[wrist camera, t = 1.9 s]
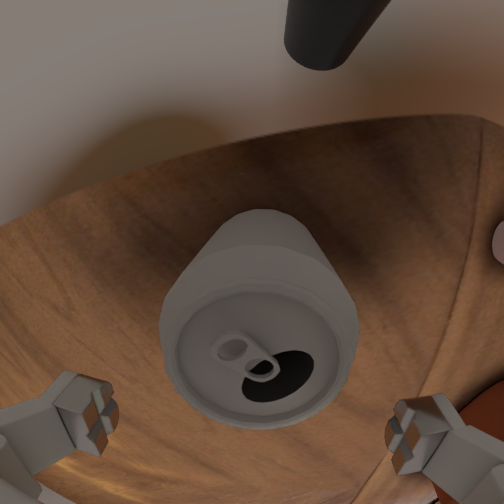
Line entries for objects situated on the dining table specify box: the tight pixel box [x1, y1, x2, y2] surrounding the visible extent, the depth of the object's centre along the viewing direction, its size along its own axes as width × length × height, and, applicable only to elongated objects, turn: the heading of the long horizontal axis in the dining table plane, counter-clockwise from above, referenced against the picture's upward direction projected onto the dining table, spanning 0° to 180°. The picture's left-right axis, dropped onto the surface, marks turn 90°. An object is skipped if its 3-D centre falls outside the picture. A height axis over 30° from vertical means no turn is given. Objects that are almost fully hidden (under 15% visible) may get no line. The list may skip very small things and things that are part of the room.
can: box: [158, 209, 360, 430], centre depth 15 cm, size 8×8×12 cm
